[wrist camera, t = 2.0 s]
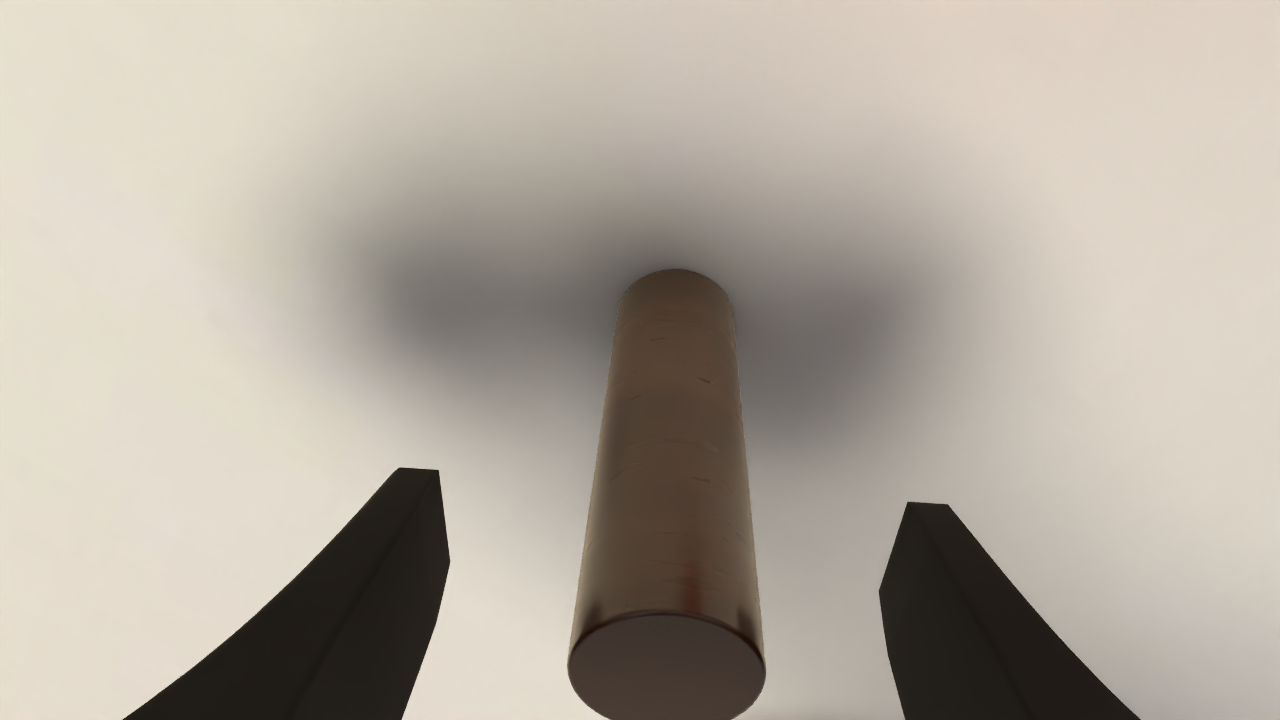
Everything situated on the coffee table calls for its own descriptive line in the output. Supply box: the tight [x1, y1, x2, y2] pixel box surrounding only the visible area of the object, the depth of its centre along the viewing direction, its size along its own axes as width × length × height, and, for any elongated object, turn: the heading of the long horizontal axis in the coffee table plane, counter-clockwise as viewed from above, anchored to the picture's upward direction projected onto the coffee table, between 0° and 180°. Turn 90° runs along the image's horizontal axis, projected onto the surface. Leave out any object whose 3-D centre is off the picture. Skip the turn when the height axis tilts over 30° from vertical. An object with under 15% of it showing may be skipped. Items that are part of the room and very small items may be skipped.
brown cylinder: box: [567, 270, 766, 720], centre depth 14 cm, size 3×3×9 cm
